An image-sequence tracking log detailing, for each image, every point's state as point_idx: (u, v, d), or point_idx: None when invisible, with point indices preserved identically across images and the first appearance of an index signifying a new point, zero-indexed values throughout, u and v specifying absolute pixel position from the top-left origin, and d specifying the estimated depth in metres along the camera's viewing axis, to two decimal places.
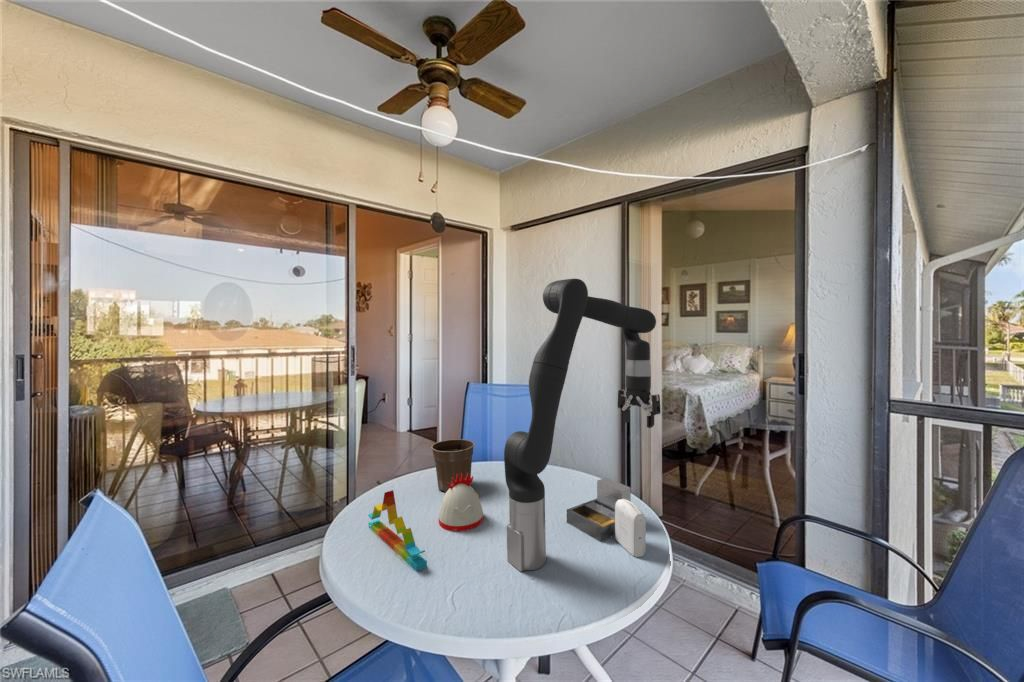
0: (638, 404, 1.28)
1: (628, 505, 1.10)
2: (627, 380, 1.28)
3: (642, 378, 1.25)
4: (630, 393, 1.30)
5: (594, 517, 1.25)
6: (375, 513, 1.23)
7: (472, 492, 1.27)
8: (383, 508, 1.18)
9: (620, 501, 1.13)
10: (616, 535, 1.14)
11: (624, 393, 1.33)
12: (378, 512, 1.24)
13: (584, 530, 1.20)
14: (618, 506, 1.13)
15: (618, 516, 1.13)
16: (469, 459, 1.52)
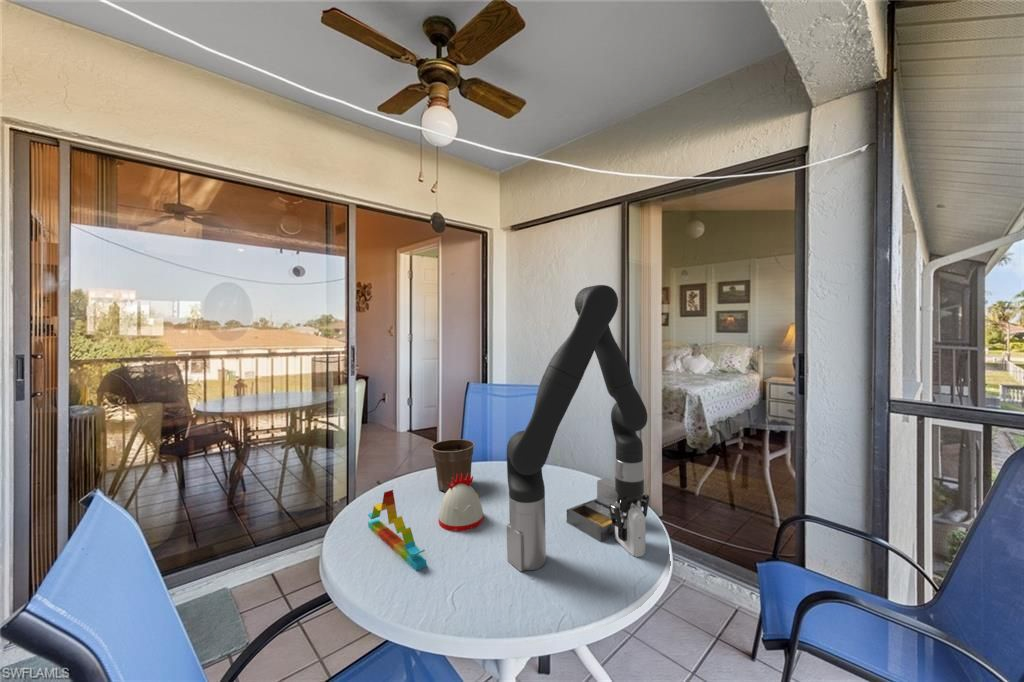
0: None
1: None
2: (635, 487, 1.07)
3: None
4: (627, 501, 1.09)
5: (594, 517, 1.25)
6: (374, 513, 1.23)
7: (472, 492, 1.27)
8: (383, 508, 1.18)
9: None
10: (616, 535, 1.14)
11: (618, 507, 1.08)
12: (378, 512, 1.24)
13: (584, 530, 1.20)
14: None
15: None
16: (469, 459, 1.52)
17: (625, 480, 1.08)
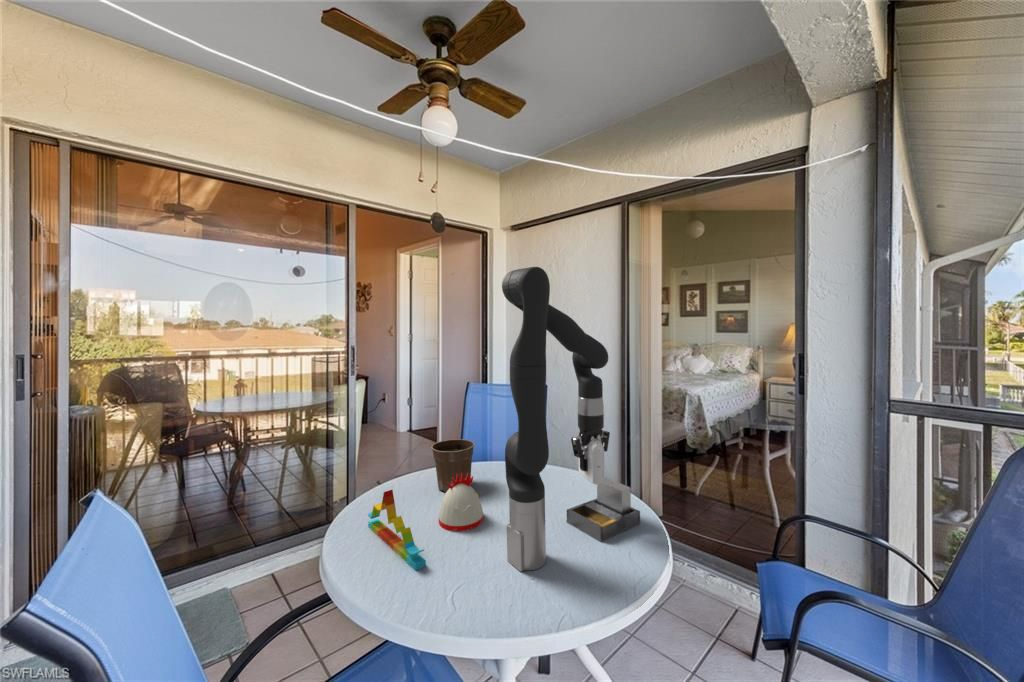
0: None
1: None
2: (595, 421, 1.17)
3: None
4: (588, 434, 1.19)
5: (594, 517, 1.25)
6: (374, 512, 1.24)
7: (472, 492, 1.27)
8: (382, 507, 1.18)
9: None
10: (579, 468, 1.24)
11: (579, 439, 1.18)
12: (377, 511, 1.24)
13: (584, 530, 1.20)
14: None
15: None
16: (469, 459, 1.52)
17: (585, 414, 1.17)
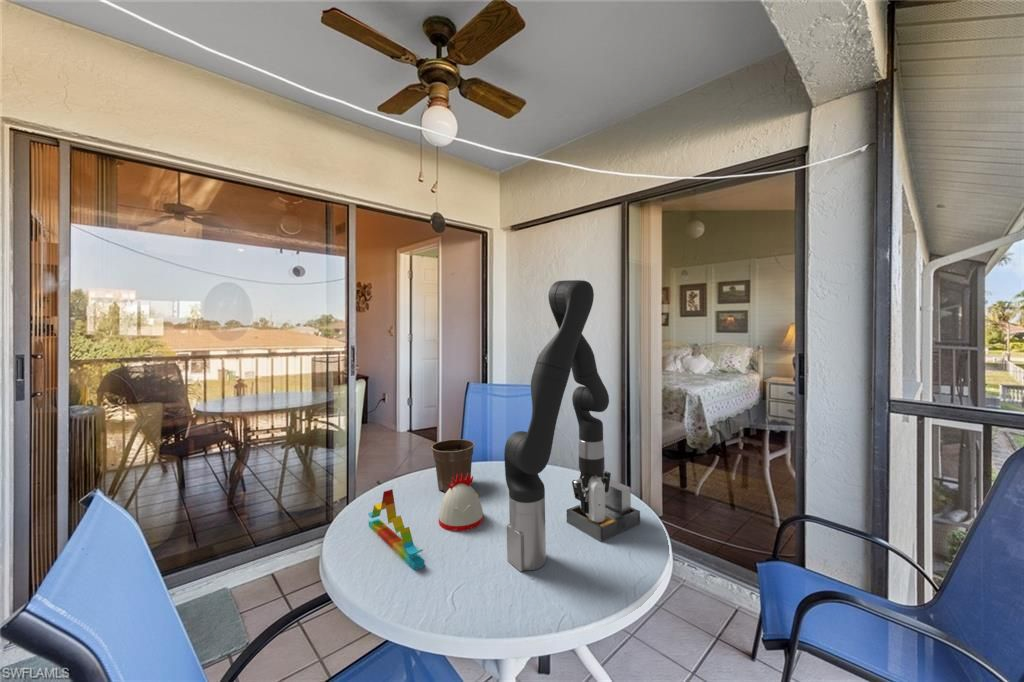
0: None
1: None
2: (595, 464, 1.18)
3: None
4: (589, 477, 1.20)
5: None
6: (374, 512, 1.24)
7: (472, 492, 1.27)
8: (382, 507, 1.18)
9: None
10: (580, 504, 1.25)
11: (580, 482, 1.19)
12: (378, 511, 1.25)
13: (584, 530, 1.20)
14: None
15: None
16: (469, 459, 1.52)
17: (586, 458, 1.18)
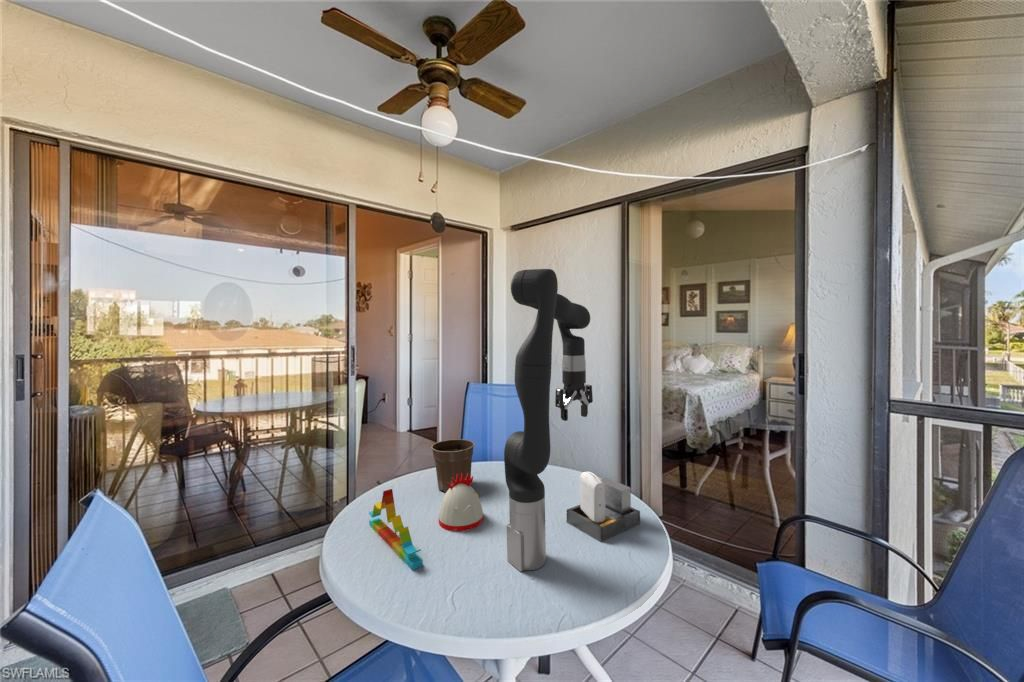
0: (578, 398, 1.33)
1: (590, 476, 1.20)
2: (577, 376, 1.29)
3: None
4: (571, 389, 1.31)
5: None
6: (375, 511, 1.24)
7: (472, 492, 1.27)
8: (382, 506, 1.19)
9: (584, 473, 1.24)
10: (581, 504, 1.25)
11: (563, 391, 1.30)
12: (378, 510, 1.25)
13: (584, 530, 1.20)
14: (582, 477, 1.23)
15: (582, 487, 1.24)
16: (469, 459, 1.52)
17: (569, 370, 1.30)
